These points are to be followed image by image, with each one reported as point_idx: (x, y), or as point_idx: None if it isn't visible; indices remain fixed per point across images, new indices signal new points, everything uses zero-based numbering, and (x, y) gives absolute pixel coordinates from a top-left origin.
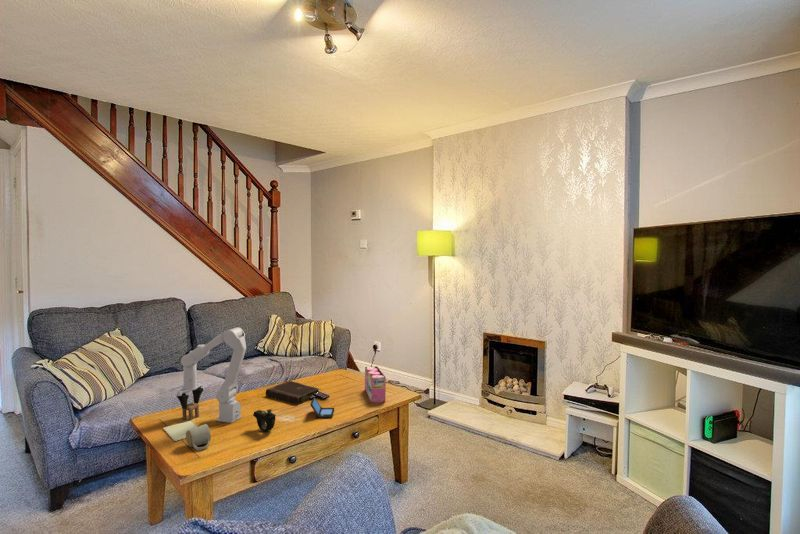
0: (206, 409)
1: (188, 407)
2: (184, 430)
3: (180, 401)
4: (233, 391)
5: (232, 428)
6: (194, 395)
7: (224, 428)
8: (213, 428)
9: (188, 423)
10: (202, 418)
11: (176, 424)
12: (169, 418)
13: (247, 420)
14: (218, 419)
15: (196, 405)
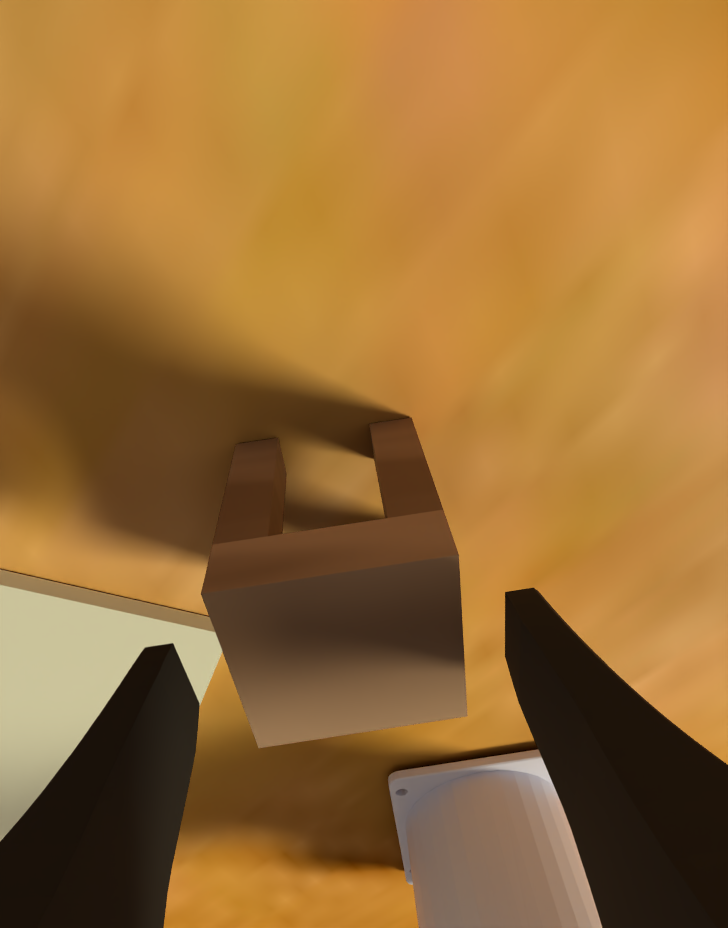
0: (706, 429)
1: (246, 709)
2: (8, 775)
3: (30, 835)
4: None
5: (330, 921)
6: (590, 777)
7: (299, 896)
8: (249, 855)
9: None
10: None
11: (19, 594)
12: (103, 198)
13: None
14: (410, 798)
15: (408, 721)
